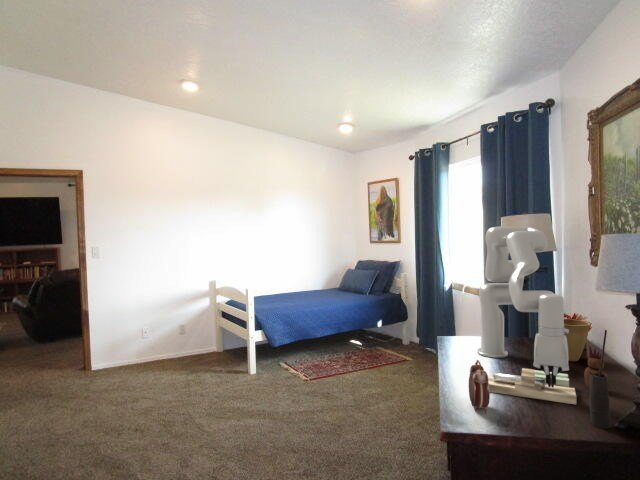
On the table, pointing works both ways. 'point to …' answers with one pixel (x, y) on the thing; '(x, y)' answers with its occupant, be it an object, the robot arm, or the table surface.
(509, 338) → the table surface
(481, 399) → the alarm clock
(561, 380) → the block
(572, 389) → the maple beam
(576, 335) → the plant pot
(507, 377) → the steel axle
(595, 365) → the wooden figurine
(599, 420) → the butter churn
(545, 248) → the robot arm
